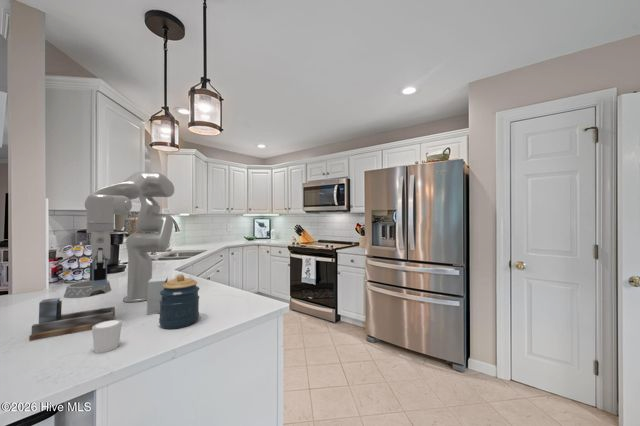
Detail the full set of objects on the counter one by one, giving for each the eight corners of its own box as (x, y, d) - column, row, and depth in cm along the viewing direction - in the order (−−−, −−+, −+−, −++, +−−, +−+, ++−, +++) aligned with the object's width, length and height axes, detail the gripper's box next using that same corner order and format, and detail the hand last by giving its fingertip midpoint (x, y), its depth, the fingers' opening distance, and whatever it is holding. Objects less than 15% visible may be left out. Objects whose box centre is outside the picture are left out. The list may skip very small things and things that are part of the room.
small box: (164, 312, 104) (165, 280, 104) (146, 315, 101) (147, 282, 101) (167, 306, 111) (167, 276, 111) (149, 308, 108) (150, 277, 108)
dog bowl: (118, 291, 136) (118, 280, 136) (74, 300, 119) (74, 289, 119) (100, 287, 143) (101, 277, 143) (56, 296, 126) (57, 285, 126)
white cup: (103, 342, 78) (104, 319, 78) (126, 341, 79) (127, 319, 79) (84, 354, 71) (85, 329, 71) (110, 353, 72) (111, 328, 72)
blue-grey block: (106, 282, 95) (106, 258, 95) (106, 284, 92) (107, 259, 92) (90, 284, 92) (90, 259, 92) (89, 286, 89) (89, 261, 89)
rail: (114, 315, 100) (115, 288, 100) (112, 325, 90) (113, 296, 91) (41, 327, 88) (42, 297, 89) (29, 341, 79) (30, 306, 79)
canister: (156, 332, 85) (158, 279, 86) (160, 319, 97) (161, 272, 97) (199, 325, 91) (200, 276, 92) (198, 313, 103) (199, 269, 103)
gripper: (114, 229, 88) (113, 281, 88) (113, 227, 101) (112, 272, 101) (85, 230, 83) (84, 285, 83) (87, 227, 96) (86, 275, 96)
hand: (99, 278), depth 92 cm, fingers closed on blue-grey block, 4 cm apart
